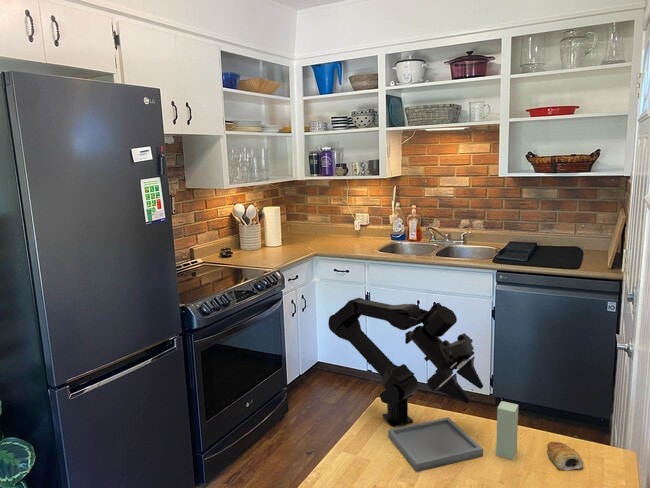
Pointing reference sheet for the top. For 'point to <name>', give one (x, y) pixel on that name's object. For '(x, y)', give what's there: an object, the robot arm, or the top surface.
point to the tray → (434, 444)
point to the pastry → (564, 456)
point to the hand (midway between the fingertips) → (475, 394)
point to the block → (507, 430)
